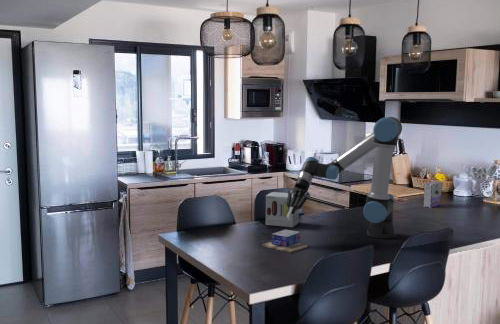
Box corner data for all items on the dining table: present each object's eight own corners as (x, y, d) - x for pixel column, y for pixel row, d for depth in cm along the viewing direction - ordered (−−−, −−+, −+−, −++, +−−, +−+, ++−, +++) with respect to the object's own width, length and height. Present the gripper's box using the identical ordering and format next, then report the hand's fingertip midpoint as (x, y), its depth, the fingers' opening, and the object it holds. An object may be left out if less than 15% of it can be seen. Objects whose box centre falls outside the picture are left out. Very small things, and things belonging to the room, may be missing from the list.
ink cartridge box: (285, 239, 269) (268, 244, 258) (285, 229, 269) (268, 233, 258) (300, 242, 263) (283, 247, 252) (300, 231, 262) (284, 236, 251)
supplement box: (265, 225, 304) (264, 195, 302) (272, 220, 316) (272, 191, 314) (293, 227, 298) (293, 197, 295) (299, 222, 310) (299, 193, 308)
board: (307, 247, 257) (307, 245, 257) (290, 253, 247) (290, 251, 247) (280, 240, 270) (280, 238, 270) (262, 246, 260) (262, 244, 260)
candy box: (433, 204, 363) (434, 181, 361) (441, 205, 358) (442, 182, 356) (422, 206, 354) (423, 183, 352) (430, 208, 350) (431, 184, 348)
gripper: (316, 187, 274) (301, 224, 262) (295, 185, 281) (279, 221, 269) (312, 178, 269) (297, 216, 257) (290, 177, 276) (274, 213, 264)
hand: (288, 218), depth 263 cm, fingers closed
